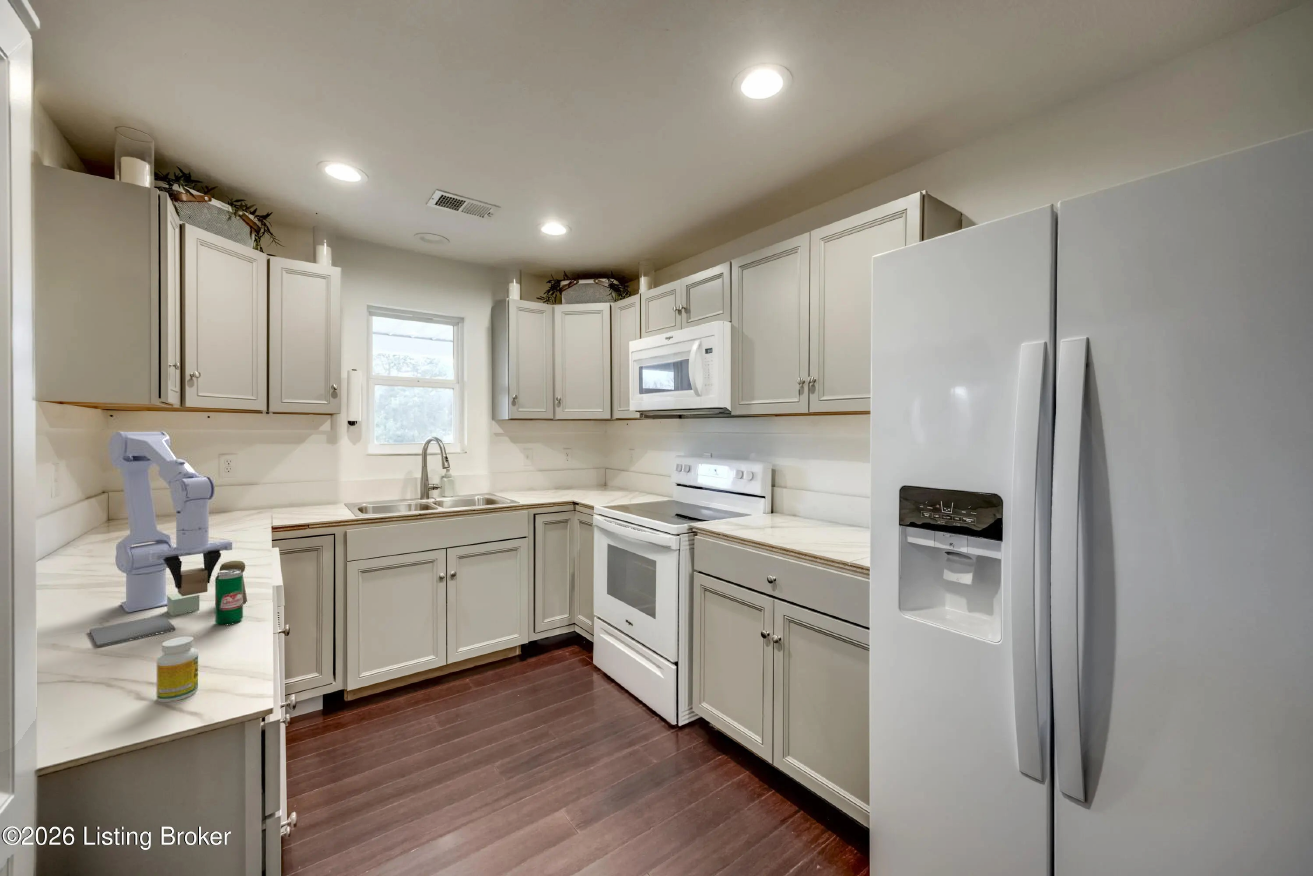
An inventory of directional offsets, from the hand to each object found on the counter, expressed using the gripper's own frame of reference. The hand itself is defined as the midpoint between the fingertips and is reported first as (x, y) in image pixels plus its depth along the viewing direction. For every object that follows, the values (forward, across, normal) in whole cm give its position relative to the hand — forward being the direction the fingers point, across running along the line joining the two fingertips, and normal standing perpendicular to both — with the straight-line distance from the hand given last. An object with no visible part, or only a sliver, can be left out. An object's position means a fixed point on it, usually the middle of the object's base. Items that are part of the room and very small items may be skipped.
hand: (192, 585), depth 123 cm
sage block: (+8, 0, +9) cm, 12 cm away
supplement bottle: (+8, -10, -41) cm, 43 cm away
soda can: (+8, +5, -8) cm, 13 cm away
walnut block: (+2, 0, 0) cm, 2 cm away
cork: (+8, +9, +6) cm, 14 cm away
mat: (+8, -10, +1) cm, 13 cm away
